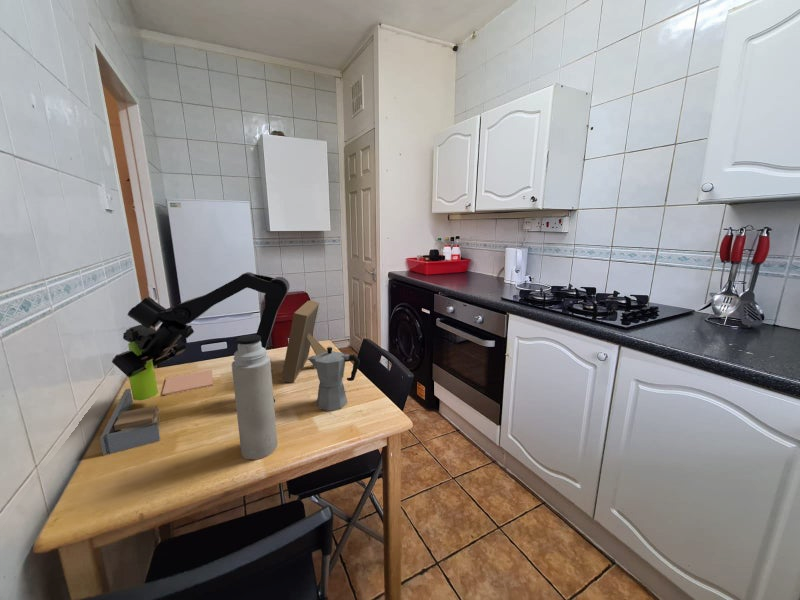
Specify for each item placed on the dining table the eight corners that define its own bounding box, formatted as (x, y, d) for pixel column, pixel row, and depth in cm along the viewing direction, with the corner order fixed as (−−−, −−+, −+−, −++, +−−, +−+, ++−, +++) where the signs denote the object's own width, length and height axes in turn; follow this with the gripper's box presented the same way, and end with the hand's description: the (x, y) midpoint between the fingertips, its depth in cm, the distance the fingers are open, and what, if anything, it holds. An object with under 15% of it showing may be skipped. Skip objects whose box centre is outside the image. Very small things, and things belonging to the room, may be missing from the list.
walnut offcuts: (158, 431, 84) (155, 417, 83) (116, 442, 79) (113, 426, 79) (161, 416, 91) (159, 402, 90) (123, 425, 86) (120, 411, 86)
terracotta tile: (212, 385, 109) (212, 383, 109) (162, 395, 102) (162, 394, 102) (212, 371, 121) (211, 369, 121) (166, 379, 114) (166, 377, 114)
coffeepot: (306, 411, 93) (302, 353, 90) (314, 395, 102) (311, 342, 99) (359, 411, 93) (357, 352, 90) (362, 395, 102) (361, 342, 99)
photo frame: (281, 383, 111) (276, 313, 106) (297, 359, 132) (294, 300, 128) (324, 382, 112) (321, 313, 107) (333, 359, 133) (331, 300, 128)
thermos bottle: (250, 438, 81) (238, 332, 75) (281, 437, 81) (273, 331, 76) (235, 460, 73) (221, 343, 67) (270, 459, 73) (259, 342, 68)
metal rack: (159, 440, 80) (157, 424, 79) (103, 455, 74) (99, 438, 74) (170, 394, 103) (168, 381, 102) (127, 402, 98) (125, 389, 97)
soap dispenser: (137, 403, 91) (123, 337, 86) (130, 396, 95) (117, 331, 91) (162, 395, 95) (150, 331, 91) (154, 388, 99) (143, 327, 95)
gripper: (171, 309, 99) (145, 342, 103) (111, 326, 81) (82, 365, 84) (198, 334, 100) (171, 366, 103) (144, 356, 81) (114, 394, 85)
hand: (138, 371), depth 94 cm, fingers closed on soap dispenser, 6 cm apart
